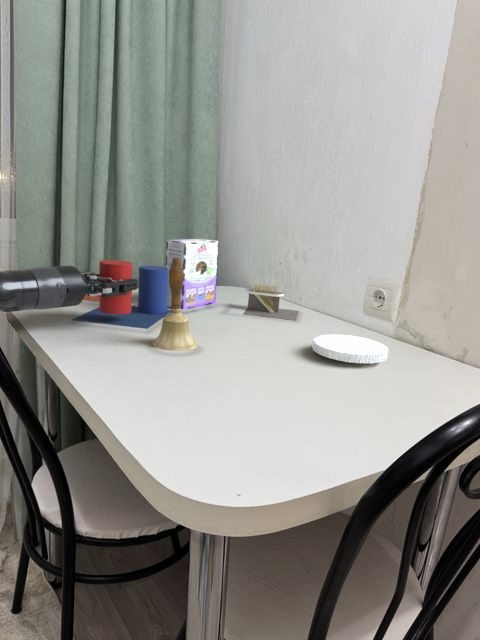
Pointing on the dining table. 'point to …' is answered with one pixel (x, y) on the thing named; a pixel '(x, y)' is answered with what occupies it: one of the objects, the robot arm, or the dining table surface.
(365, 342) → the plastic lid
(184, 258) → the candy box
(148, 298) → the blue cylinder
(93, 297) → the red mat
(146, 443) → the dining table surface
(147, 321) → the blue mat
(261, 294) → the platform
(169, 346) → the hand bell
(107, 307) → the red cylinder
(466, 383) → the dining table surface
